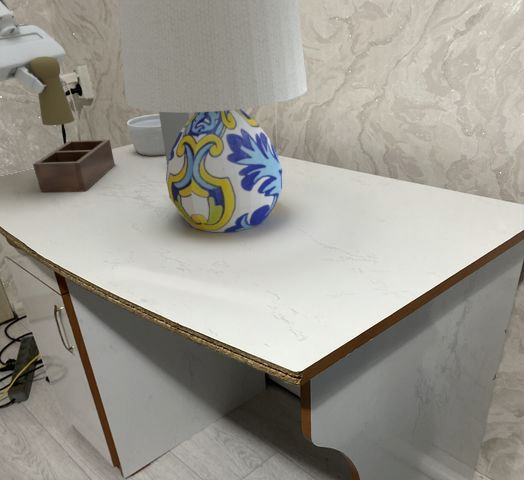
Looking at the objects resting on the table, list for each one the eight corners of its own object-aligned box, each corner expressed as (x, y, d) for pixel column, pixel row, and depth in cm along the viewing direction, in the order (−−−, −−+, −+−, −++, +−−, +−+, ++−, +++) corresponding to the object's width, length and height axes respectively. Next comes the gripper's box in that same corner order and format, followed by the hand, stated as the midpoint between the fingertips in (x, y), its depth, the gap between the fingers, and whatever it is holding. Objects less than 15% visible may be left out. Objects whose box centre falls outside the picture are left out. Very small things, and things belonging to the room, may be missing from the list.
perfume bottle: (195, 169, 116) (184, 76, 105) (167, 168, 118) (153, 77, 107) (208, 160, 121) (198, 71, 110) (181, 159, 123) (168, 71, 112)
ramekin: (189, 153, 127) (185, 122, 123) (133, 160, 124) (127, 128, 120) (183, 140, 137) (179, 111, 133) (131, 146, 135) (125, 117, 131)
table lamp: (332, 199, 95) (338, -89, 73) (260, 261, 76) (238, -105, 53) (205, 184, 107) (176, -70, 84) (114, 234, 87) (44, -78, 65)
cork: (65, 116, 107) (49, 54, 100) (80, 120, 103) (65, 55, 97) (36, 122, 103) (18, 58, 97) (52, 126, 100) (34, 60, 93)
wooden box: (41, 192, 108) (32, 164, 105) (75, 166, 123) (68, 140, 120) (86, 191, 107) (78, 162, 104) (115, 165, 122) (109, 139, 119)
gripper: (23, 36, 106) (77, 90, 109) (-56, 49, 91) (10, 111, 94) (35, 9, 103) (91, 65, 105) (-45, 17, 87) (23, 83, 90)
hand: (52, 87), depth 99 cm, fingers closed on cork, 4 cm apart
